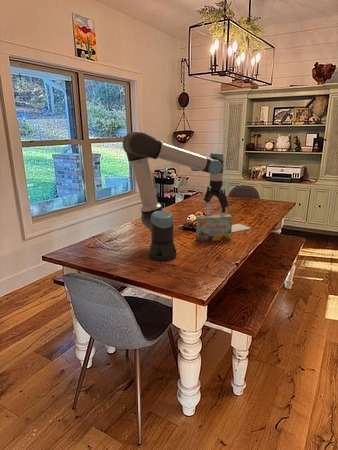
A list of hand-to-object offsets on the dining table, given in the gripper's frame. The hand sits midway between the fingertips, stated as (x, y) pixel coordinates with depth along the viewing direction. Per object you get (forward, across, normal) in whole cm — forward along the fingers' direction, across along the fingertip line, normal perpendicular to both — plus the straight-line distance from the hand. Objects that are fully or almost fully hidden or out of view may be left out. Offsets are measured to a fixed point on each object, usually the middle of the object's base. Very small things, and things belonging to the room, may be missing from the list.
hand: (215, 215), depth 191 cm
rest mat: (+16, +10, -22) cm, 29 cm away
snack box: (+16, 0, 0) cm, 16 cm away
